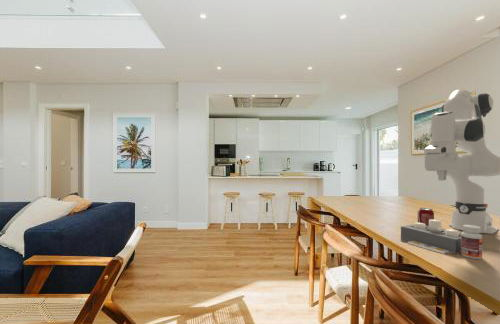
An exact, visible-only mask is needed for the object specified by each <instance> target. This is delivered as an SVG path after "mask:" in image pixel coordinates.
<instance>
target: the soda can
mask: <svg viewBox="0 0 500 324" xmlns="http://www.w3.org/2000/svg"><path fill="white" fill-rule="evenodd" d="M430 219H433V220H435V212H434V211H433V208H429V207H419V209H418V210H417V222H418V223H424V224H425V225H427V226H429V220H430Z"/></svg>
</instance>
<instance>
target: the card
mask: <svg viewBox="0 0 500 324" xmlns="http://www.w3.org/2000/svg"><path fill="white" fill-rule="evenodd" d="M407 244H408V245H412V246H415V247H419V248H421V249H422V248H423V249H426V250H429V251H433V252H437V253H438V254H443V255H445V254H447V253H448V254H449V253H450V252H449V251H448V250H444V249H441V248H437V247H434V246H430V245H427V244H423V243H420V242H416V241H408V242H407Z"/></svg>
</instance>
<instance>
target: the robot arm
mask: <svg viewBox="0 0 500 324" xmlns="http://www.w3.org/2000/svg"><path fill="white" fill-rule="evenodd" d="M493 105H494V99H493V98H492V96H491V95H490V94H489V93H479V94H473V95H472V93H471V92H470V91H469V90H468V89H463V88H461V89H456V90H454V91H453V92H451V93H450V94H449V96H448V97H447V98H446V100H445V102H444V104H443V105H442V106H441V112H435V113H434V114H432V118H431V123H430V124H431V126H430V137H431V140H430V145H428V146H426V147H425V148H424V150H423V153H424V154H425V155H424V168H425V170H426V171H427V172H436V174H437V176H438V181H441V182H442V181H447V176H448V177H449V178H450V179H451V181H452V182H453V184H454V185H455V192H456V201H455V204H454V207H455V209H454V210H453V211H452V214H451V215H452V216H451V222H449V224H448V226H450V227H452V228H453V229H454V230H457V231H462V232H464V230H463V225H474V226H478V227H480V228H481V232H480V233H479V234H489V235H493V234H494V233H496V232H497V231H499V227H497V226H493V217H492V216H491V215H490V214H489V213H488V212H487V208H488V207H489V204H488V203H485V189H484V187H483V186H482V185H481V184H478V183H477V182H476V183H475V182H473V181H472V180H470V179H469V177H488V178H489V177H495V176H500V156H498V155H497V154H495V153H492V151H490V150H489V149H488V148H487V146H486V142H485V134H486V125H485V123H484V122H483V118H486V116H487V114H489V113H490V112H491V111H492V110H493V107H494V106H493ZM482 117H483V118H482ZM456 143H457V145H456ZM456 147H458V149H460V150H461V151H463V152H464V153H467V154H458V153H457V151H456Z"/></svg>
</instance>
